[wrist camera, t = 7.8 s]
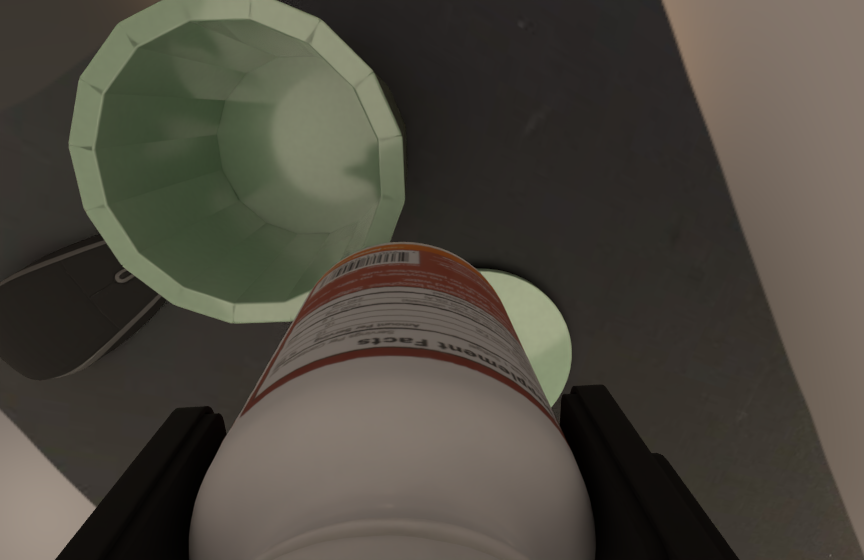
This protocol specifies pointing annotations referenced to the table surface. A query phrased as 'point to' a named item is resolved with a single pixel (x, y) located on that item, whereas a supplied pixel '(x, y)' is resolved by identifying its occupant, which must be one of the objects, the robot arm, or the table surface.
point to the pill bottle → (396, 430)
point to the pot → (235, 154)
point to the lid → (536, 329)
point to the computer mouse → (70, 310)
